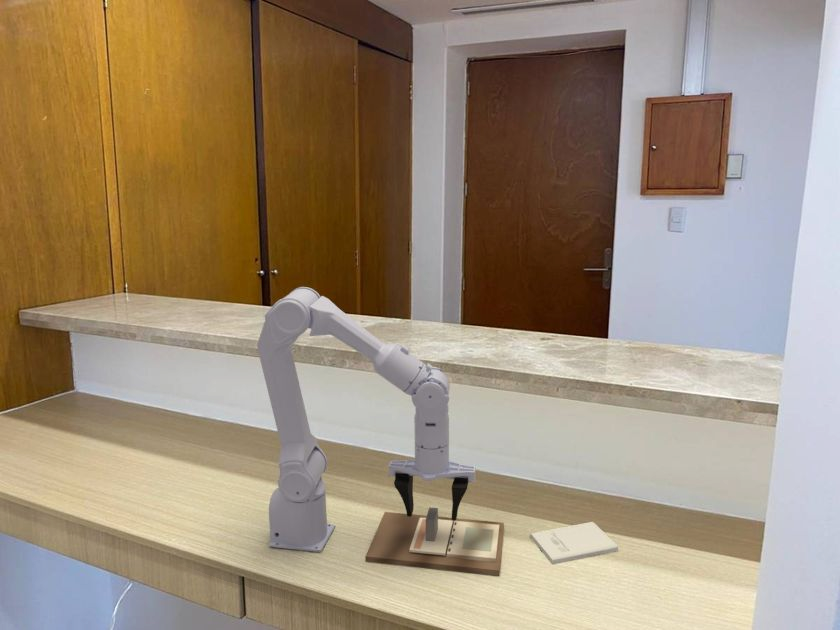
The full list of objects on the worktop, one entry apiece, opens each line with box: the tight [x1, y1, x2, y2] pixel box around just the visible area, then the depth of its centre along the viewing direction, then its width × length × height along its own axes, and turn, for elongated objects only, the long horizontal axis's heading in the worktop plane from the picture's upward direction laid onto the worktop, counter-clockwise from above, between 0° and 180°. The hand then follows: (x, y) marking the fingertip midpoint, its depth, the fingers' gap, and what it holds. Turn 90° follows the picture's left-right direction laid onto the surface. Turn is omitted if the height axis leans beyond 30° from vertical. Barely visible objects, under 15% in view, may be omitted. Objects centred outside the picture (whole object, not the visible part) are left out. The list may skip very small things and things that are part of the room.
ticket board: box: [364, 511, 505, 577], centre depth 110 cm, size 22×14×2 cm, turn 80°
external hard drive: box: [529, 521, 619, 565], centre depth 110 cm, size 2×8×12 cm
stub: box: [409, 506, 453, 556], centre depth 109 cm, size 6×10×4 cm, turn 170°
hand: (432, 515), depth 109 cm, fingers open, 7 cm apart
